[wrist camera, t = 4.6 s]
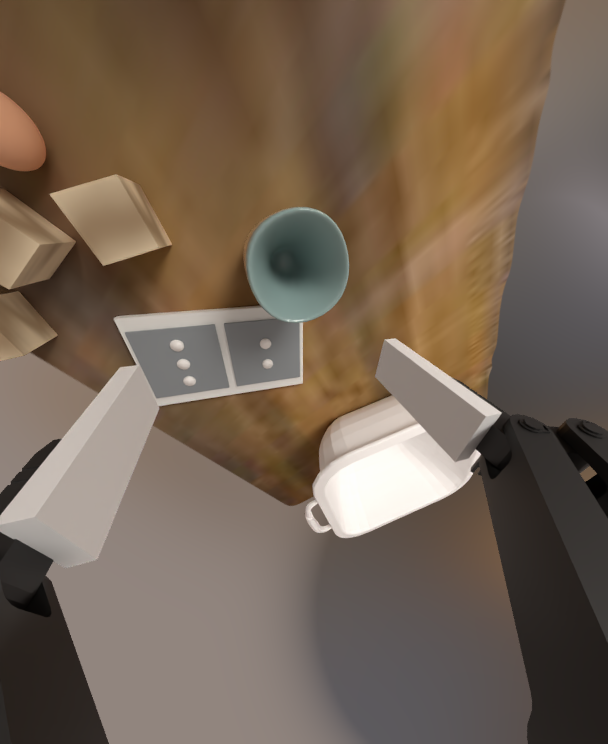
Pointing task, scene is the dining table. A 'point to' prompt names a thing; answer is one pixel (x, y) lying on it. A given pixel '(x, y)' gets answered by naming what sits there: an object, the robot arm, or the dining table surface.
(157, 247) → the block
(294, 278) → the cup
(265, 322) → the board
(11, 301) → the block
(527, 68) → the dining table surface
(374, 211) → the dining table surface
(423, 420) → the robot arm
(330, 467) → the baking dish
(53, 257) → the block
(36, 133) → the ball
